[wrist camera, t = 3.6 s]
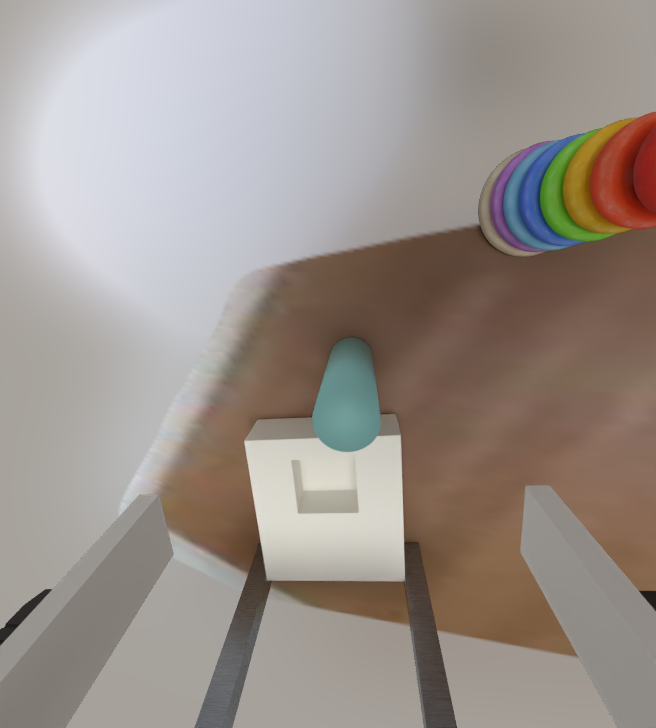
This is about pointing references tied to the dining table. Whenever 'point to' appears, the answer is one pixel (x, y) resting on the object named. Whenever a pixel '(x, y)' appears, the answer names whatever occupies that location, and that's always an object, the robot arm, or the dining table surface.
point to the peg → (348, 398)
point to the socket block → (327, 503)
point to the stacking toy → (573, 189)
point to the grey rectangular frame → (245, 627)
